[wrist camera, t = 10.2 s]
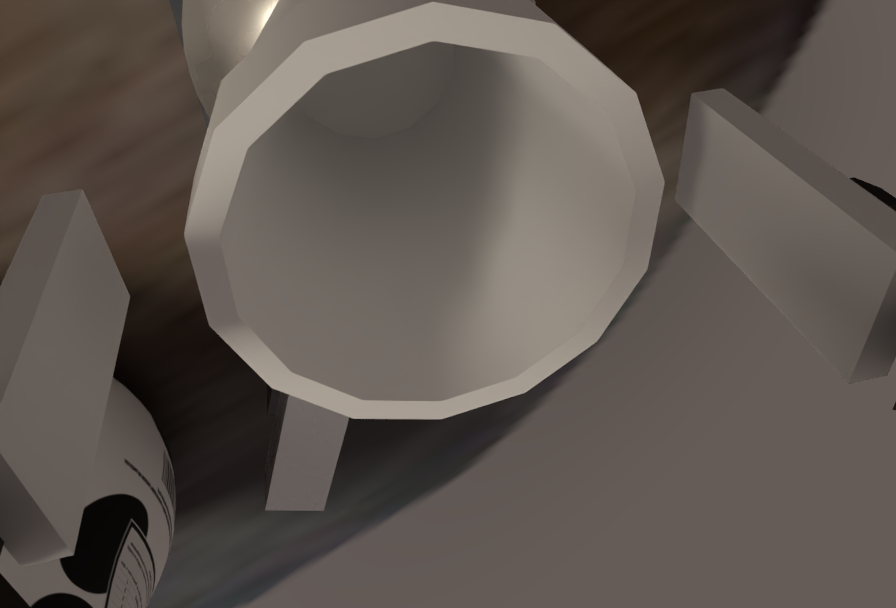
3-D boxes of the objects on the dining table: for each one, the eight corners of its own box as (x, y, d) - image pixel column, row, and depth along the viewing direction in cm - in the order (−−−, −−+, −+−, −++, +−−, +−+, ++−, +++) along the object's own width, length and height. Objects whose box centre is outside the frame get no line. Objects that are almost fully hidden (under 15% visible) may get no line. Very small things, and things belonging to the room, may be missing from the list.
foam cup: (376, -186, 20) (486, -136, 10) (549, 54, 26) (734, 243, 15) (160, 42, 23) (74, 265, 13) (358, 218, 28) (410, 474, 18)
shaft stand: (-121, -822, 14) (-391, -1235, 8) (520, -816, 16) (670, -1157, 10) (268, 397, 35) (269, 522, 29) (523, 349, 37) (570, 458, 31)
